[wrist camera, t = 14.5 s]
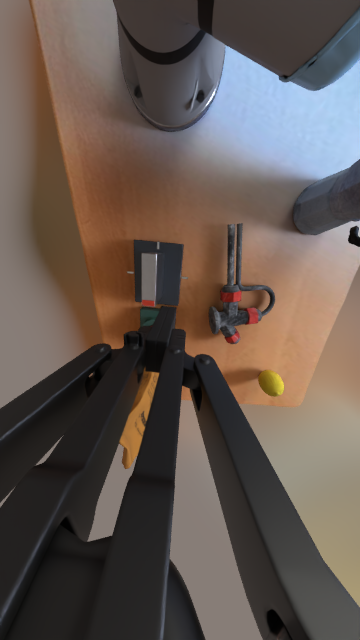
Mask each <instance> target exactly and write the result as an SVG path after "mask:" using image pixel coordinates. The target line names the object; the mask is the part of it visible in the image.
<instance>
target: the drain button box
mask: <svg viewBox="0 0 360 640" xmlns="http://www.w3.org/2000/svg"><path fill="white" fill-rule="evenodd" d="M159 311H160V309H159V308H149V307H142V308H141V309H140V328H141V327H142V326H152V325H153V323H154V321H155V319H156V317H157V315H158V313H159Z"/></svg>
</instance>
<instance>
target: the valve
mask: <svg viewBox="0 0 360 640" xmlns="http://www.w3.org/2000/svg"><path fill="white" fill-rule="evenodd" d="M234 237H235V224H230V225H228V268H227V285H224V286H223V289H222V291H220V294H221V300H222V301H223V312H218V311H217V310H216V308H215V307H210V309H209V323H210V328H211V331H212V333H213V334H217V333H218V331H219V329H220V330H221V332H222V333H223V335H224V336H225V339H226V341H227V342H228V343H230V344H236V343H238V342H239V340H240V336H239V333H238V331H237V330H236V329H235V327H234V326H237V325H241V324H245V325H246V324H254V323H258V321H260V320H261V318H262V316H264V315H266V314H267V313H268V312H269V311H270V310H271V309H272V307H273V305H274V302H275V295H274V292H273V290H272V289H271V288H269V287H268V286H264V285H256V286H247V287H243V286H242V285H241V253H242V223H240V224H237V251H236V284H234ZM240 290H241V291H251V290H265V291H267V292H268V293H269V295H270V303H269V306H268V307H267V308H266V309H265V310H264V311H263V312H261V311H260V310H258V309H256V308H255V307H254V308H246V309H244V310H238V301H240V300H241V291H240Z"/></svg>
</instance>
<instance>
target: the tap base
mask: <svg viewBox="0 0 360 640" xmlns="http://www.w3.org/2000/svg"><path fill="white" fill-rule="evenodd" d="M183 247H184V245H183V244H174V243H164V242H159V241H157V242H153V241H142V240H134V265H135V301H136V302H142V253H149V252H155V253H164V267H163V288H162V297H161V298H160V300H159V302H158V303H157V304H165V305H175V306H178V304H179V294H180V282H181V278H183V279H188V277H181V270H182V259H183ZM127 273H131V274H134V272H129V271H127Z"/></svg>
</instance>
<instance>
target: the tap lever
mask: <svg viewBox="0 0 360 640" xmlns="http://www.w3.org/2000/svg"><path fill="white" fill-rule="evenodd" d="M163 267H164V253H155V252H149V253H142V306H149V307H155V306H156V305H157V303H158V302H159V300H160V298H161V297H162V288H163Z"/></svg>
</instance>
